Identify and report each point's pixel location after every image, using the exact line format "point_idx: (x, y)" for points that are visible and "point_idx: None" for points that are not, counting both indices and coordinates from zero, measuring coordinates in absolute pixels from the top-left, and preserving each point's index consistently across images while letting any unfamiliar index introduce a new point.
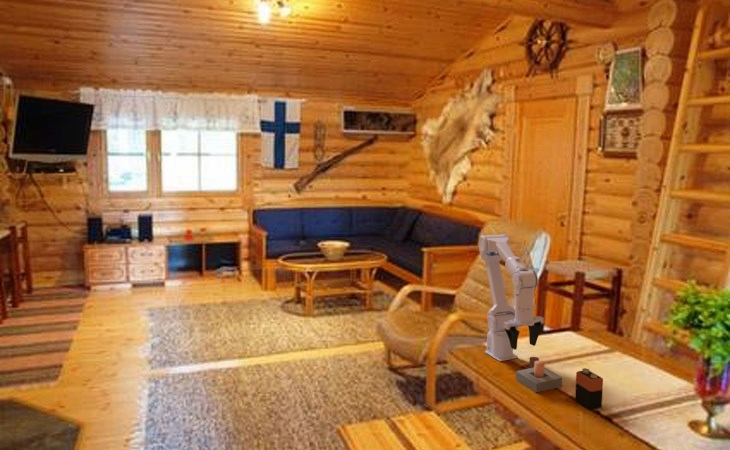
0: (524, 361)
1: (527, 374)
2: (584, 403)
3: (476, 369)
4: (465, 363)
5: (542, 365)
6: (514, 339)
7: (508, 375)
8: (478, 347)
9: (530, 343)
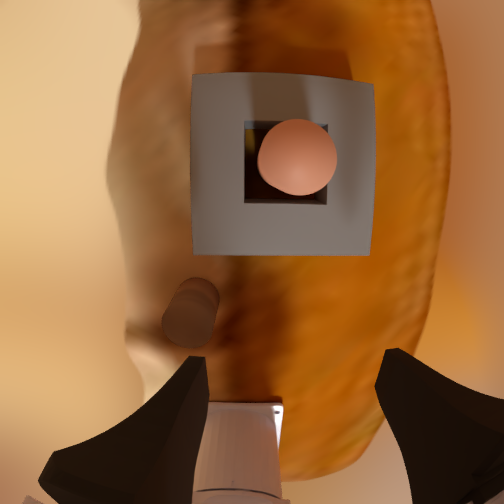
0: None
1: (346, 192)
2: None
3: None
4: None
5: (298, 121)
6: (467, 388)
7: (346, 295)
8: None
9: (207, 393)
